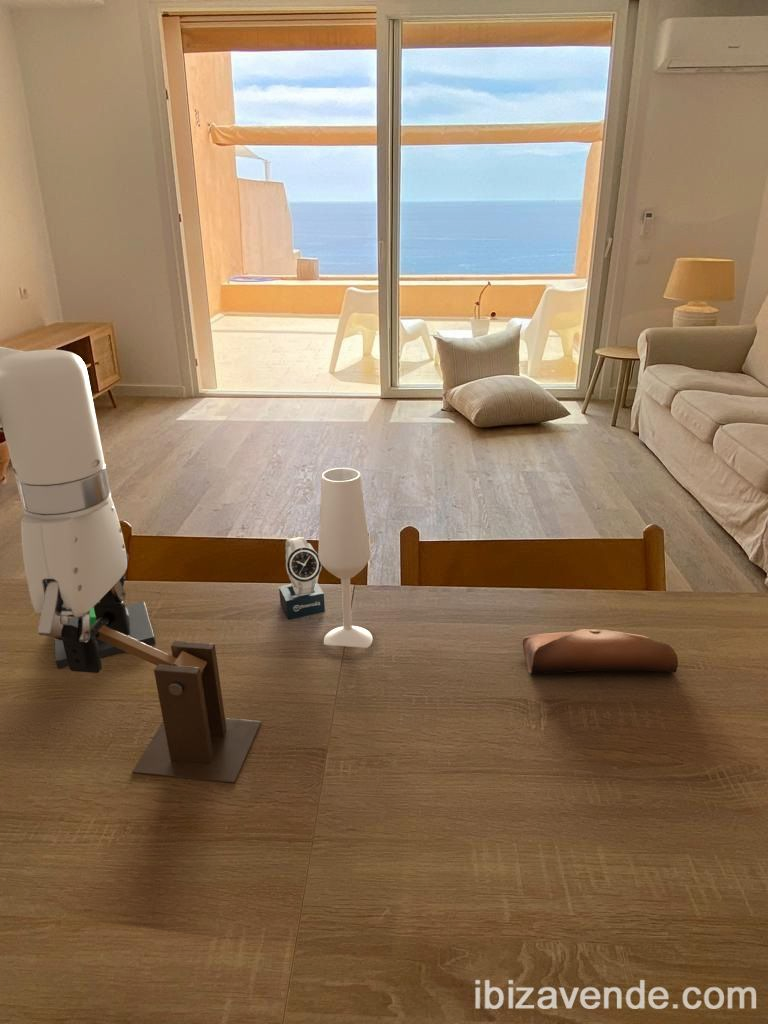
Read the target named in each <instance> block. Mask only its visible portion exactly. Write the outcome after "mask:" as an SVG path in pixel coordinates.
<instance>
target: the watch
mask: <svg viewBox="0 0 768 1024" xmlns="http://www.w3.org/2000/svg"><path fill="white" fill-rule="evenodd" d="M284 557H285V569H286V574H287V575H288V579H289V581H290V583H289V584H284V585H280V586H278V591H279V592H278V593H279V604H280V607H281V609H282V611H283V613H284V615H285V618H286V619H287V620H288V621H289V620H294V619H298V618H302V617H306V616H312V615H316V614H320V613H325V612H326V607H325V605H326V604H325V592H323V589H322V588H321V586H320V585H319V583H318V582H319V577H320V573H321V571H322V564H321V562H320V561H319V558H318V551H316V550H315V549H314V547H313V546H312V544H311V543H310V542H309V543H308V541H307V540H306V538H305V537H304V536H300V537H294V538H287V539H286V540H285V555H284Z"/></svg>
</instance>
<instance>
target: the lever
mask: <svg viewBox="0 0 768 1024" xmlns="http://www.w3.org/2000/svg"><path fill="white" fill-rule="evenodd" d="M113 620H114V616H113V614H111V613H110V612H105V613H104V614H103V615H102V616H101V617H100V618H99V619H98V620H97V621H96V622H95V623H94V624H93V626H92V627H91V628H90V636H95V637H96V639H99V640H101V641H103V642H106V643H108V644H110V645H112V646H115V647H117V648H119V649H121V650H123V651H126V652H125V653H128V654H130V655H133V656H135V657H137V658H139V659H142V660H143V661H146V662H148V663H150V664H153V665H155V666H157V665H158V664H160V665H173V666H186V667H199V668H200V671H201V676H202V674H203V671H204V669H205V666H206V664H207V662H206V661H204V660H202V659H200V658H197V657H195V656H193V655H191V654H188V653H186V652H184V651H182V652H181V653H180V655H179V656H178V658H175V657H173V656H172V654H171V655H170V654H169V653H167V652H164V651H162V650H159V649H157V648H155V647H153V646H148V645H146V644H144V643H142V642H140V641H137V640H135V639H133V638H131V637H128V636H126V635H124V634H122V633H120V632H117V631H115V630H113V629H111V628H108V626H109V625H110V623H111V622H112V621H113Z"/></svg>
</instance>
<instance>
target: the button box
mask: <svg viewBox="0 0 768 1024" xmlns="http://www.w3.org/2000/svg"><path fill="white" fill-rule="evenodd" d="M124 605H125V610H126V615H127V620H128V625H129V630H130V635H129V636H128V637H131V638H133V639H135V640H137V641H140V642H142V643H144V644H146V645H148V646H151V647H153V646H156V645H157V644H156V639H155V635H154V631H153V628H152V627H153V626H152V624H151V620H150V617H149V613H148V610H147V606H146V603H145V600H143V601H138V602H133V603H128V604H124ZM68 620H69V625H72V626H75V627H77V628H78V617H68ZM90 628H91V627H90ZM53 638H54V637H53ZM53 640H54V654H55V655H54V657H55V664H56V667H57V670H60V669H64V668H69V665H68V661H67V657H66V653H65V649H64V645H63V641H59V640H57V638H54V639H53ZM96 641H97V646H98V650H99V655H100V659H103V658H109V657H111V656H115V655H120V654H124V653H127V652H126V651H123V650H121V649H119V648H117V647H115V646H112V645H110V644H108V643H106V642H103V641H101V640H99V639H96Z"/></svg>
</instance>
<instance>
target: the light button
mask: <svg viewBox="0 0 768 1024" xmlns="http://www.w3.org/2000/svg"><path fill="white" fill-rule="evenodd" d="M96 621H97V620H96V616H95V611H94V606H93V607H92V608H91V609H90V627H92V626H93V624H94V623H95V622H96Z"/></svg>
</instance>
